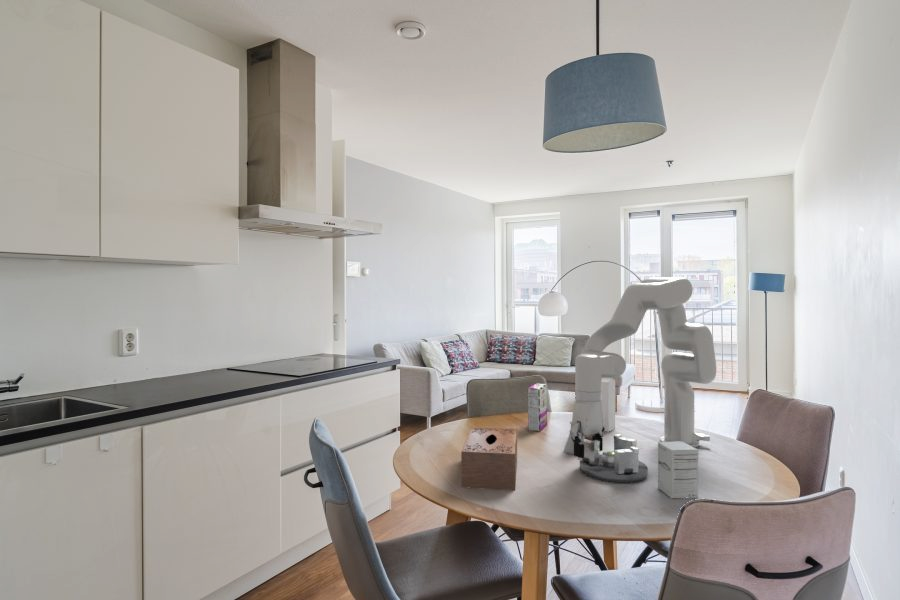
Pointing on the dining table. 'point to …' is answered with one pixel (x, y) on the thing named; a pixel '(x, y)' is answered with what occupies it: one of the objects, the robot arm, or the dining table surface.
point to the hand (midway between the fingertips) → (588, 453)
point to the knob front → (590, 452)
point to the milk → (608, 403)
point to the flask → (570, 444)
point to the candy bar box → (537, 407)
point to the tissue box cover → (489, 458)
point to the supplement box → (678, 469)
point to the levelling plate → (612, 470)
